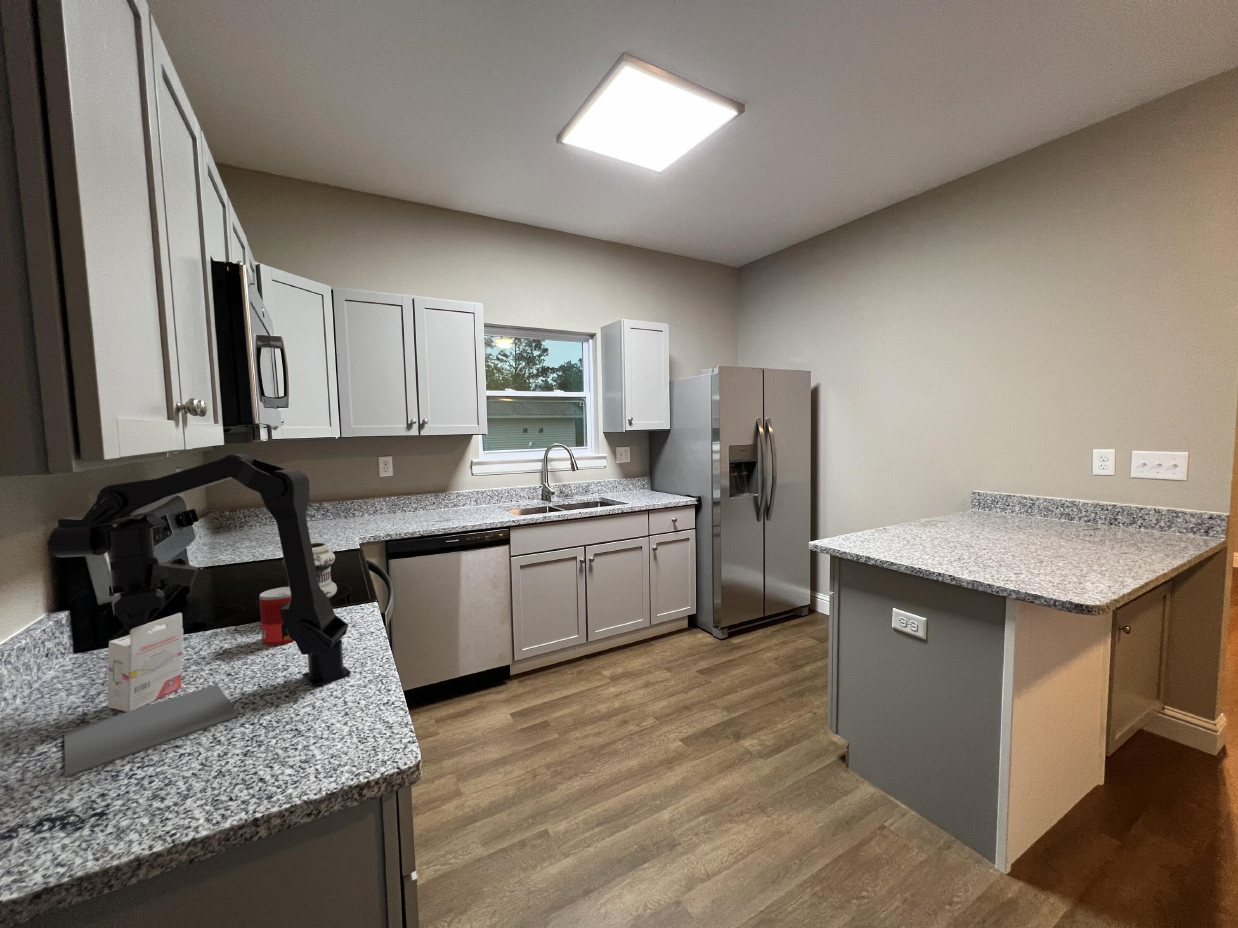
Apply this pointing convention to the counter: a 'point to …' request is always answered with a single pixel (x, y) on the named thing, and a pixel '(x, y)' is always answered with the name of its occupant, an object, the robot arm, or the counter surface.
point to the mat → (144, 728)
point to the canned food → (274, 615)
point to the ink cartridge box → (145, 664)
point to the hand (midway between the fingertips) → (139, 639)
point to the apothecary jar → (323, 567)
